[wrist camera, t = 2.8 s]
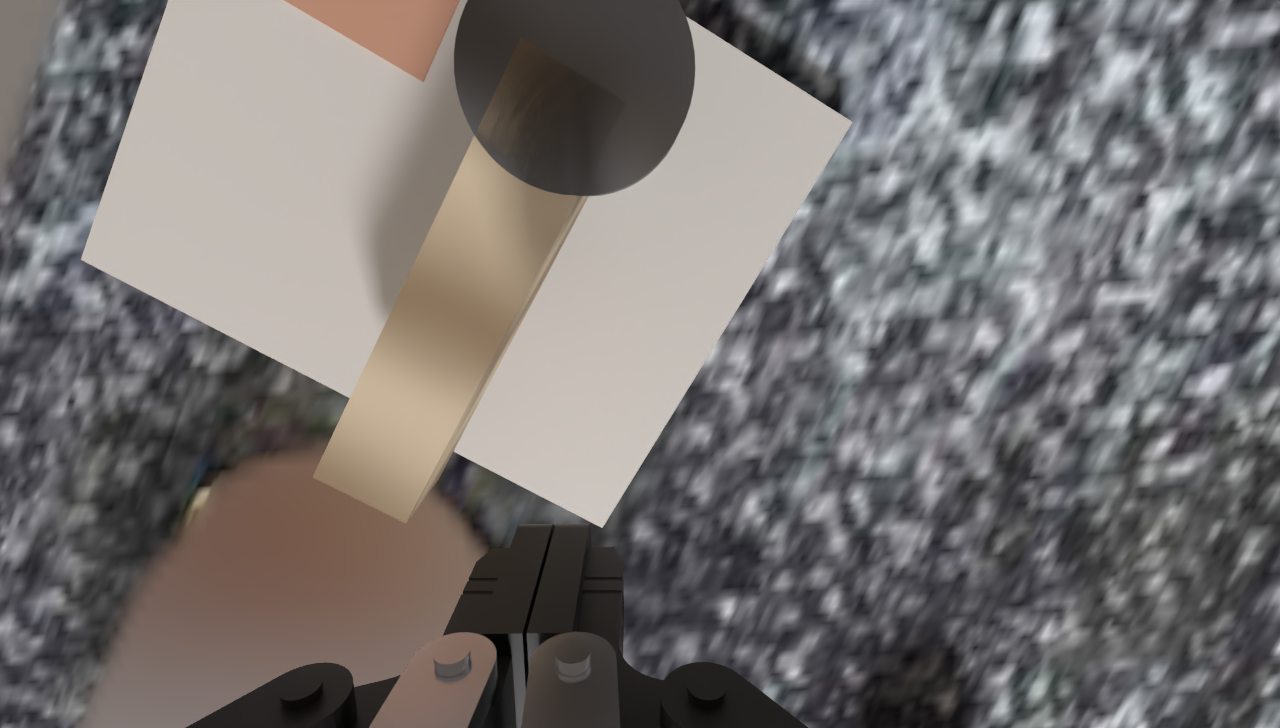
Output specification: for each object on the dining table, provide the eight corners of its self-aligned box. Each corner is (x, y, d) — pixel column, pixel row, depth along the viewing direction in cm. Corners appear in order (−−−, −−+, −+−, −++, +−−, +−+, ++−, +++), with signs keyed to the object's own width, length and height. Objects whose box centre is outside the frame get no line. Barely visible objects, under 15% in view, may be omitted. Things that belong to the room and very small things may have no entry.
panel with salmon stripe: (282, -225, 21) (185, -340, 16) (839, 127, 23) (884, 110, 19) (114, 256, 25) (-1, 268, 20) (604, 510, 27) (596, 569, 23)
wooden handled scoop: (542, -68, 17) (521, -121, 15) (725, 49, 18) (741, 20, 15) (317, 418, 21) (264, 453, 18) (477, 499, 22) (451, 545, 19)
